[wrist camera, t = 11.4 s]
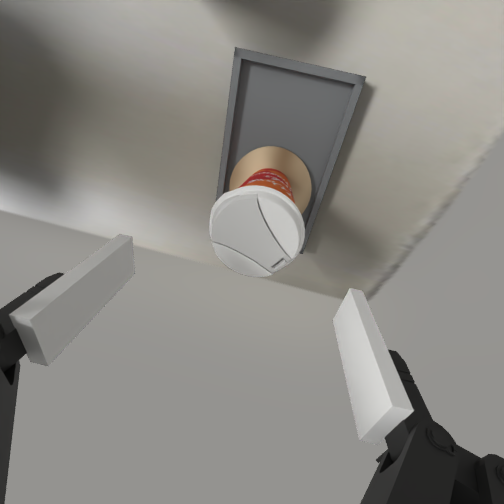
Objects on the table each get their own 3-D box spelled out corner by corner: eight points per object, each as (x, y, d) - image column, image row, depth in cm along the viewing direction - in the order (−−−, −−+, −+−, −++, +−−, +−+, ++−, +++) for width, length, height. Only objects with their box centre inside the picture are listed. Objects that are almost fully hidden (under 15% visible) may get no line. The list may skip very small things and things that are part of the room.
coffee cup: (312, 192, 32) (327, 244, 19) (267, 230, 35) (254, 297, 22) (268, 142, 30) (251, 163, 17) (225, 189, 33) (183, 236, 20)
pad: (225, 216, 36) (224, 218, 35) (237, 137, 31) (236, 137, 30) (297, 234, 36) (297, 236, 35) (322, 157, 30) (323, 158, 30)
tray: (215, 227, 38) (212, 232, 37) (238, 51, 27) (235, 47, 25) (302, 248, 38) (302, 254, 36) (361, 78, 27) (366, 76, 25)
